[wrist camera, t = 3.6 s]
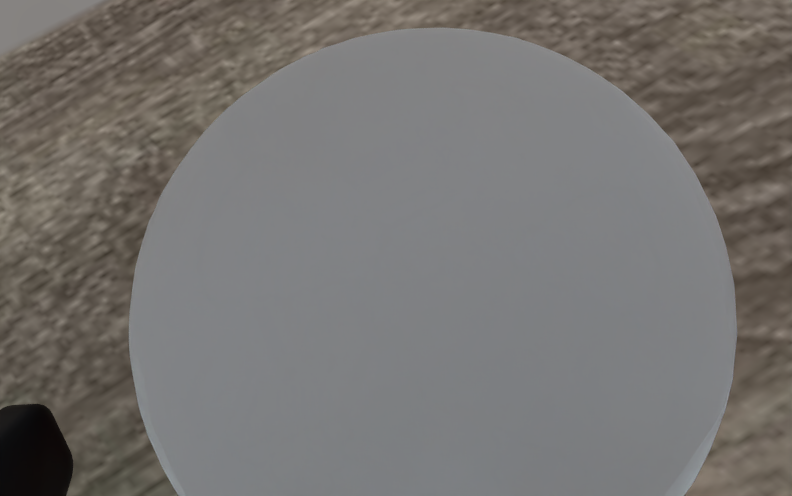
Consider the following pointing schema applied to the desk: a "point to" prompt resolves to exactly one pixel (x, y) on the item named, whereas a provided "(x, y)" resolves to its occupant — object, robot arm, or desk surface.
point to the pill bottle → (433, 284)
